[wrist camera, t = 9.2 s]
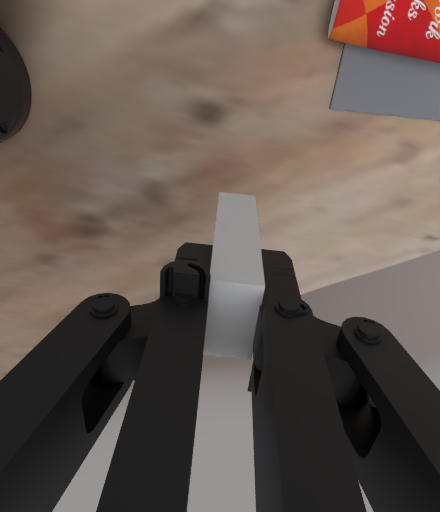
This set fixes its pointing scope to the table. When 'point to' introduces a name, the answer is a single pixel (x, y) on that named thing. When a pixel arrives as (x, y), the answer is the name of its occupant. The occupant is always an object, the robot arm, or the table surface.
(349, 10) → the paper cup
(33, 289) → the table surface
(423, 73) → the rubber mat
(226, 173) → the table surface
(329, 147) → the table surface
